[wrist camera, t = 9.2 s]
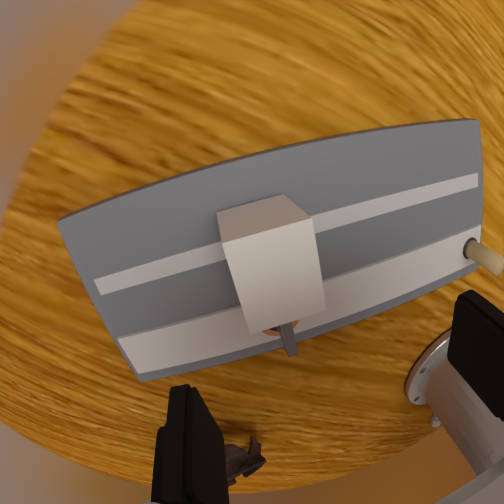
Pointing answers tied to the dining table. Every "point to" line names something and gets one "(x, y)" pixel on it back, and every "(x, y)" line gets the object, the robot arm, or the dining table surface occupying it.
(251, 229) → the white block with pointer
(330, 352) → the dining table surface
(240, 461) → the pottery mug
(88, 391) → the dining table surface
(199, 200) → the gauge board
